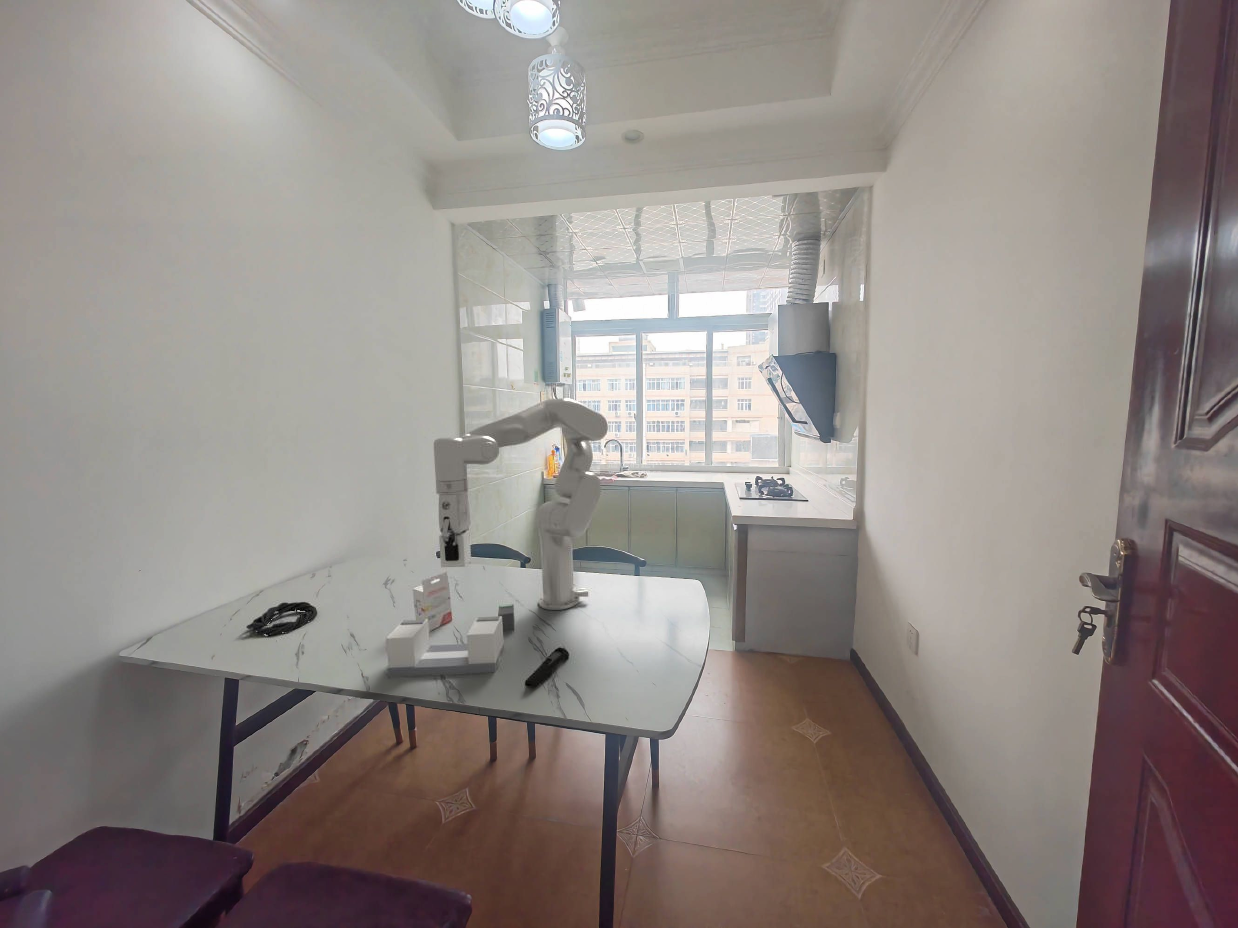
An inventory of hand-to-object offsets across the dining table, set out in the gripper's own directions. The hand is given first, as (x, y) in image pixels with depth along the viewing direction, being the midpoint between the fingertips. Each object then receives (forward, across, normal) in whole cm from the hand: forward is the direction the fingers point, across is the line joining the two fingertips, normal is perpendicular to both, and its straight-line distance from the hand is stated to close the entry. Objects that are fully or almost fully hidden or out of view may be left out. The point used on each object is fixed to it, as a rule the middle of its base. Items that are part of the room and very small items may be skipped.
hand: (456, 556), depth 117 cm
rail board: (+23, -11, -1) cm, 25 cm away
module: (+2, 0, 0) cm, 2 cm away
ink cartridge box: (+23, +10, +11) cm, 27 cm away
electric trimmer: (+23, -16, -25) cm, 38 cm away
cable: (+24, +15, +55) cm, 62 cm away
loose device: (+23, +8, -10) cm, 26 cm away
